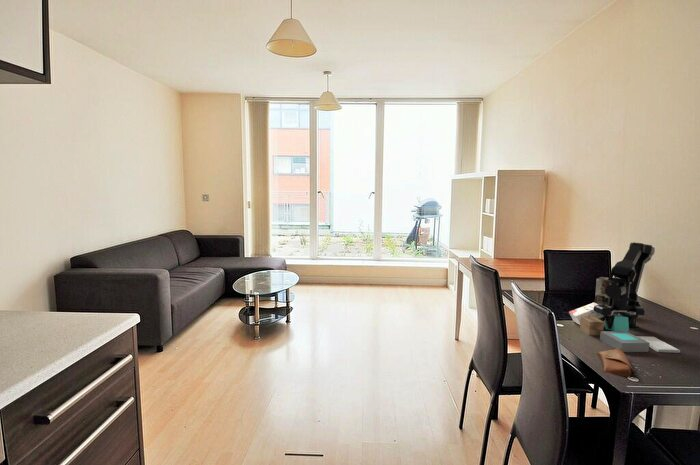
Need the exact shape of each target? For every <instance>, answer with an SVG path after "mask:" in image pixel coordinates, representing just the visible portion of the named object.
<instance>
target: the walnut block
mask: <svg viewBox="0 0 700 465" xmlns="http://www.w3.org/2000/svg"><path fill="white" fill-rule="evenodd" d="M604 327H605V321H603V320H602V319H597V318H596V317H581V321H580V325H579V331H581V332H583V333H584V334H586V335H588V336H600V333H601V331H604Z"/></svg>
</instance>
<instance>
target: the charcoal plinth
mask: <svg viewBox="0 0 700 465" xmlns="http://www.w3.org/2000/svg"><path fill="white" fill-rule="evenodd" d="M599 341H601V342H603V343H604V344H606V345H608V346H610V347H612V348H613V349H617V348H619V347H620V348H621V349H622V351H623V352H624V353H645V352H646V353H648V352H649V349H650V347H649V344H650V343H649V342H647V341H645V340H643V339H641V338H639V337H637V335H635V334H633V333H630V331H629V332H627V331H612V330H607V331H606V330H603V331H601V333H600V335H599Z"/></svg>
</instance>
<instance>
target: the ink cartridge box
mask: <svg viewBox="0 0 700 465" xmlns="http://www.w3.org/2000/svg"><path fill="white" fill-rule="evenodd" d="M595 305H598V304H596V303H595V302H592V303H589V304H586V305H583V306H581V307H578V308H575V309H572V310H570V311H568V313H569V315H570V317H571V319H572V321H573V322H574V323H576V324H578V325H579V326H580V321H581V317H596V318H597V319H599V320H601V319H602V318H605V317H604V315H602V314H599V313H597V312H595V311H594V306H595Z"/></svg>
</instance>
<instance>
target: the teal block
mask: <svg viewBox="0 0 700 465" xmlns="http://www.w3.org/2000/svg"><path fill="white" fill-rule="evenodd" d="M614 316H615V318H614V322H613V325H612V328H611V329H608V326H607V323H606V320H605V319H604V327H605V330H607V331H627V332H629V333H630V327H629V323H628V317H623V316H618V315H614Z"/></svg>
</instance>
